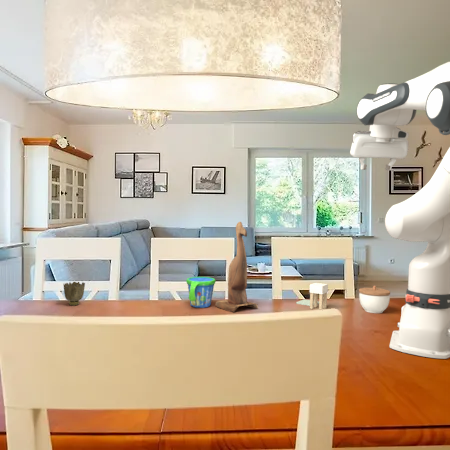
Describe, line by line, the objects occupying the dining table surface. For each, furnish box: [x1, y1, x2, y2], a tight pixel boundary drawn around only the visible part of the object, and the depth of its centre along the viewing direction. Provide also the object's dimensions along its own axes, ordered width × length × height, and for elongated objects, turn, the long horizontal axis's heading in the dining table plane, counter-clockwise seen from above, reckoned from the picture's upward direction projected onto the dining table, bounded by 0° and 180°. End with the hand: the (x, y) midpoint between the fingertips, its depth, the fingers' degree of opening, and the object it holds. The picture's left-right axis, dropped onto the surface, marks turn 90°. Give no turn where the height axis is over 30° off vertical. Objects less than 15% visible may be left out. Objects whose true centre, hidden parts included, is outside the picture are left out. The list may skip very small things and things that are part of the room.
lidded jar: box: [358, 285, 391, 314], centre depth 155 cm, size 11×11×9 cm
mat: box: [295, 298, 319, 307], centre depth 166 cm, size 7×7×1 cm
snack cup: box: [185, 276, 216, 309], centre depth 158 cm, size 16×10×10 cm
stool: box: [309, 282, 329, 310], centre depth 158 cm, size 5×5×9 cm
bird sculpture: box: [215, 221, 259, 314], centre depth 155 cm, size 11×12×32 cm
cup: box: [63, 281, 86, 307], centre depth 155 cm, size 8×7×8 cm
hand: (375, 169), depth 155 cm, fingers open, 8 cm apart
